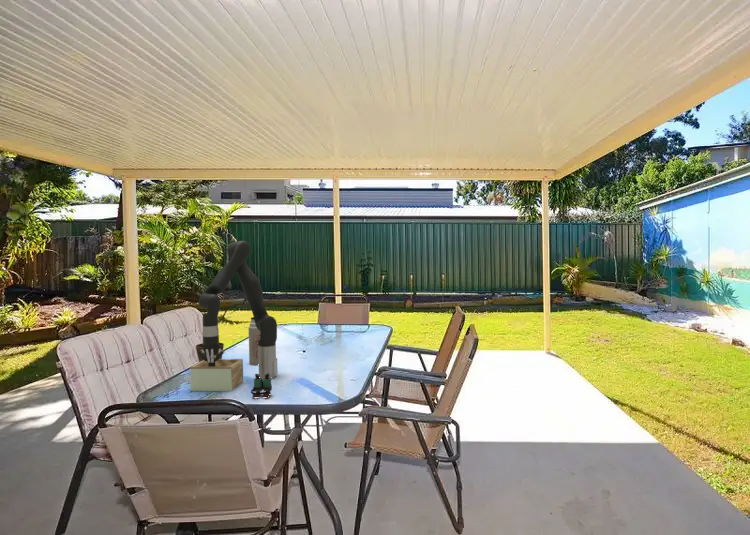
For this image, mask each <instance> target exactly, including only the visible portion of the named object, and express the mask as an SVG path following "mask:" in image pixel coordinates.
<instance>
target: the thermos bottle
mask: <svg viewBox="0 0 750 535" xmlns="http://www.w3.org/2000/svg"><path fill="white" fill-rule="evenodd" d="M259 340H260V331H259V330H258V329H257V327H256V324H255V321H254V317H251V318H250V323H249V326H248V357H249V358H248V360H249V361H248V362H249V365H250V364H251V365H250V366H259V365H258V364H259V357H258V341H259Z"/></svg>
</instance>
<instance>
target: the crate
mask: <svg viewBox="0 0 750 535" xmlns="http://www.w3.org/2000/svg"><path fill="white" fill-rule="evenodd" d="M243 361H244V359H243V358H222V359H219V360H218V361H215V366H231V375H232V391H234V388H235V389H236V388H237V387H238V386H240V385H242V384H243V382H244V362H243ZM193 366H209V365H208V362H207V361H204V360H203V361H201V362H199V361H198V363H196V364H194V365H193ZM239 384H240V385H239Z"/></svg>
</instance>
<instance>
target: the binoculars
mask: <svg viewBox="0 0 750 535" xmlns="http://www.w3.org/2000/svg"><path fill="white" fill-rule="evenodd" d="M259 376H260V375H259V373H255V374H254V379H253V387H252V389H251V390H250V394H251V395H252V398H253V397H259V396H260V397H262V398H263V397H268V396H271V395H272V390H273V387H272V378H269V373H268V374H265V378H263V379H262V378H259ZM269 394H271V395H269ZM261 395H262V396H261Z"/></svg>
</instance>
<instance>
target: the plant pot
mask: <svg viewBox="0 0 750 535" xmlns="http://www.w3.org/2000/svg"><path fill="white" fill-rule="evenodd" d="M219 346H220V349H221V350H224V347H225V344H224V342H219ZM202 347H203V342H202V343H199V344H198V343H197V344H196V345H195V350H196V351H195V352H196V354H197V360H198V363H199V362H201V361H203V358H202V357H201V356H200V355H199V353H198V352H199V351H201V350H202ZM218 352H219V351H218ZM218 352H217V354H216V357H217V356H218V354H219V353H218ZM204 353H205V352H204ZM205 355H206V353H205ZM206 356H207V355H206ZM220 359H223V355H222V356H221V357H220Z"/></svg>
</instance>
